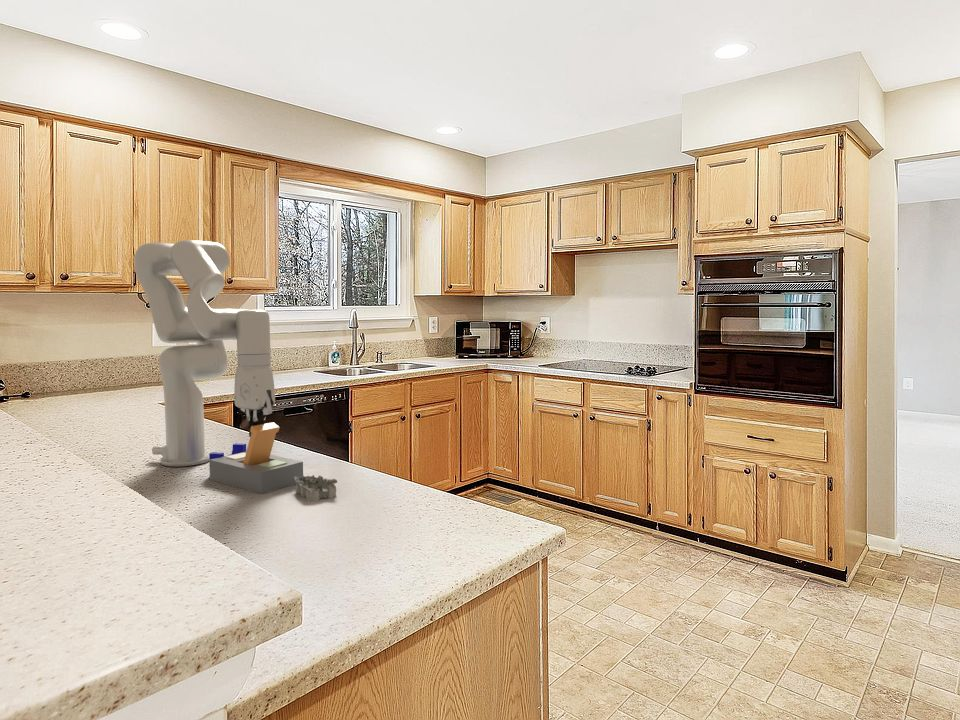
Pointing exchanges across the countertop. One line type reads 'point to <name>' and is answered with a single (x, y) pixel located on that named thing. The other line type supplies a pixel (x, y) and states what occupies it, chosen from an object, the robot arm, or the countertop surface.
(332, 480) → the egg carton
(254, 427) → the breaker lever
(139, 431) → the countertop surface
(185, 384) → the robot arm
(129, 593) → the countertop surface
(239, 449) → the cable clip
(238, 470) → the breaker box
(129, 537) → the countertop surface
